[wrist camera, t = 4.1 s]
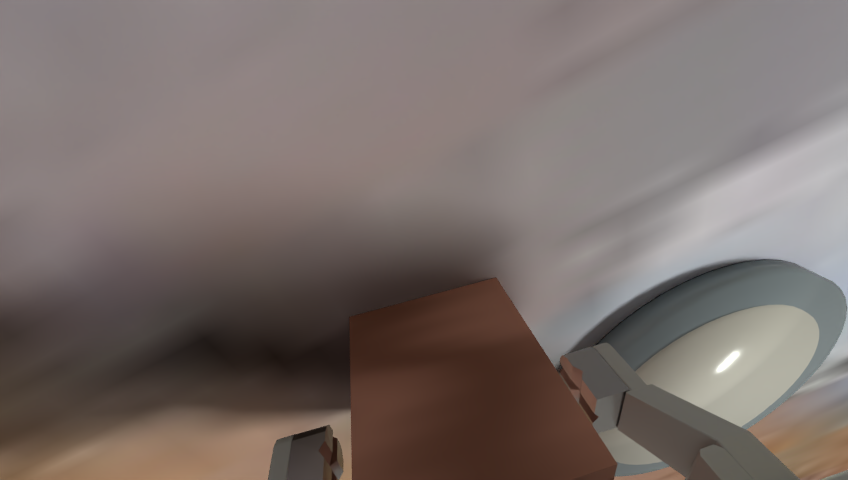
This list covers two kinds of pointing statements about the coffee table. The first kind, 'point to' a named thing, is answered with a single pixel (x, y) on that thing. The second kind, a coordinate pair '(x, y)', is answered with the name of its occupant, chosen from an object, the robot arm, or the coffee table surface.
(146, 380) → the coffee table surface
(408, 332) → the block
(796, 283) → the dish
